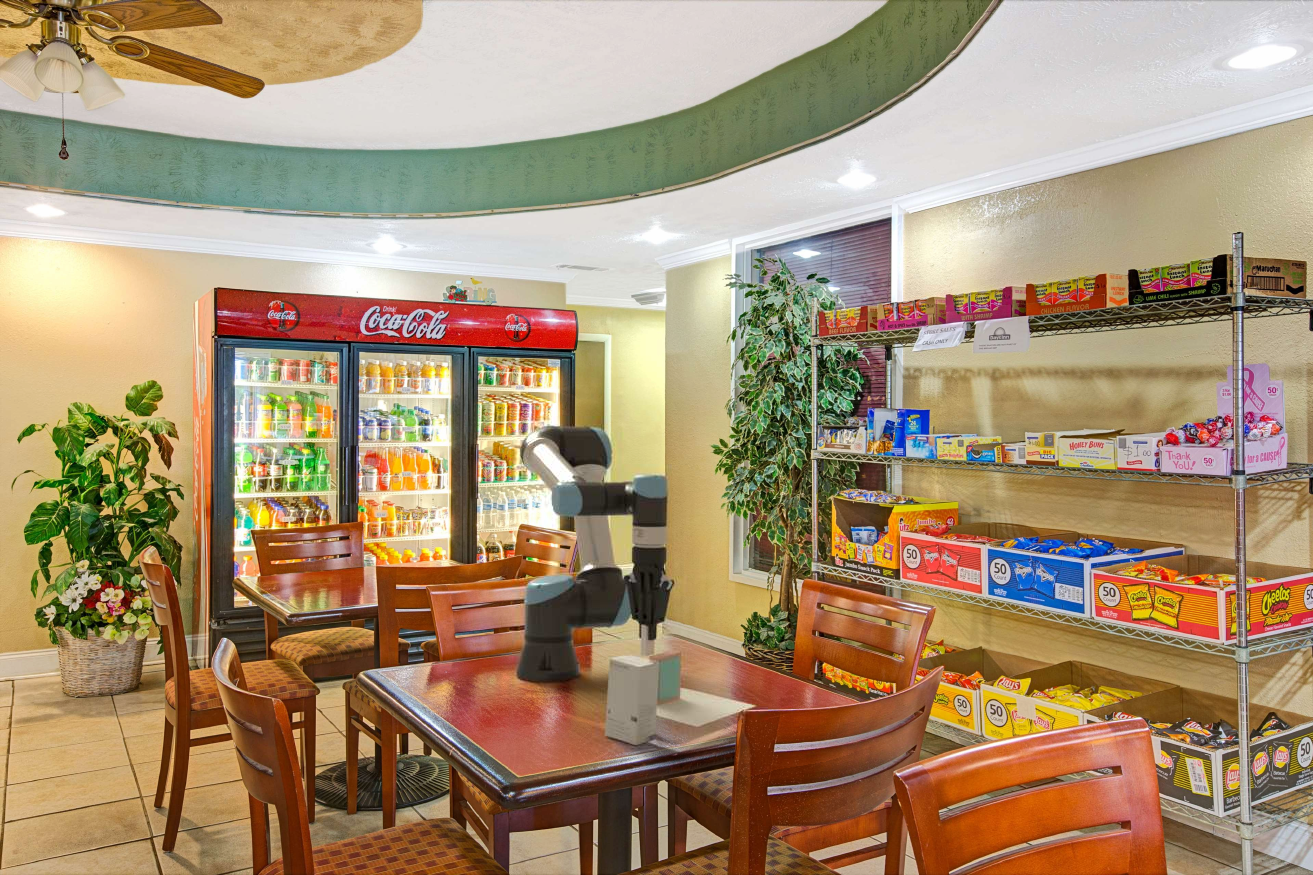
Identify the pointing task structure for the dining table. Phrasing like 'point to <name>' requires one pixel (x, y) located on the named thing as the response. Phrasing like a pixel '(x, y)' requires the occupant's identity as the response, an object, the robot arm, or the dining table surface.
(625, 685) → the skincare box
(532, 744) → the dining table surface
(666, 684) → the tile
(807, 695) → the dining table surface
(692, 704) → the mat
